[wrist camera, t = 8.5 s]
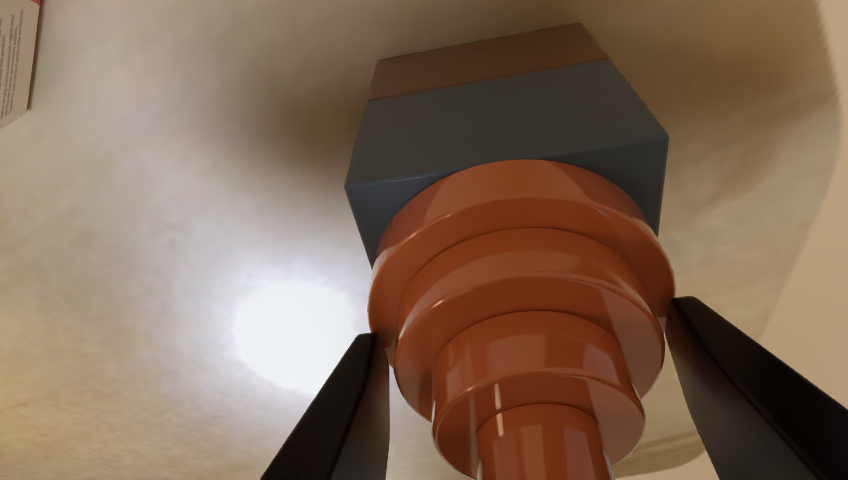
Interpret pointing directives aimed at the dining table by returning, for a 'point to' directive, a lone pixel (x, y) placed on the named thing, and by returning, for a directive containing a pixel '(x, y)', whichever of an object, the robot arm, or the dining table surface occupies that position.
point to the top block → (505, 138)
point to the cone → (524, 318)
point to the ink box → (16, 56)
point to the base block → (485, 61)
